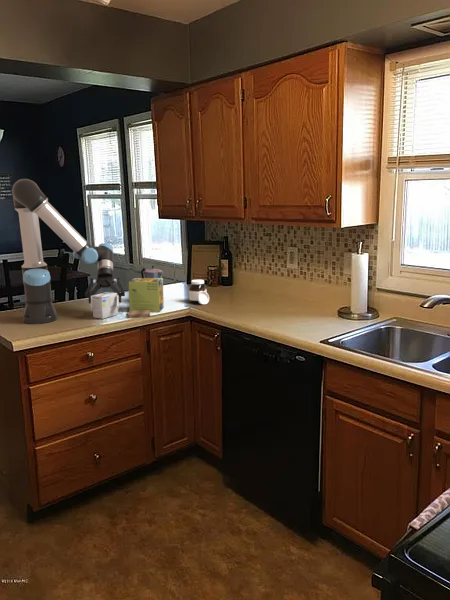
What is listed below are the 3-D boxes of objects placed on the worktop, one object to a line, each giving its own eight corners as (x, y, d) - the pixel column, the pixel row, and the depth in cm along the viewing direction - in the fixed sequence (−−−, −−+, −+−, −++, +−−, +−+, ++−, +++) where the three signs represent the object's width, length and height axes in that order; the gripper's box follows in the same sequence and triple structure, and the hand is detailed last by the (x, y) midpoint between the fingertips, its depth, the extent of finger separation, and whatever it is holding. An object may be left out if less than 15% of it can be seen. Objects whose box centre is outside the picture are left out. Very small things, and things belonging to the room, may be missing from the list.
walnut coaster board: (128, 317, 250) (128, 314, 250) (129, 313, 258) (128, 310, 257) (149, 316, 251) (149, 313, 251) (149, 312, 259) (149, 309, 259)
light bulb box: (108, 312, 259) (107, 291, 257) (118, 314, 256) (117, 292, 253) (92, 317, 250) (91, 295, 248) (102, 319, 247) (101, 296, 244)
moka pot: (158, 305, 275) (157, 267, 270) (135, 302, 282) (134, 265, 278) (169, 301, 283) (168, 265, 279) (146, 299, 290) (145, 263, 286)
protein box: (160, 312, 260) (158, 281, 256) (129, 312, 261) (127, 281, 258) (164, 307, 270) (163, 277, 266) (134, 307, 271) (133, 277, 268)
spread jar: (196, 299, 288) (195, 278, 286) (214, 301, 283) (214, 280, 281) (185, 304, 278) (184, 282, 275) (204, 306, 273) (203, 283, 270)
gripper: (129, 274, 266) (130, 311, 254) (81, 276, 262) (80, 313, 251) (129, 265, 260) (129, 303, 248) (79, 267, 256) (78, 305, 245)
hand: (104, 308), depth 250 cm, fingers closed on light bulb box, 11 cm apart
